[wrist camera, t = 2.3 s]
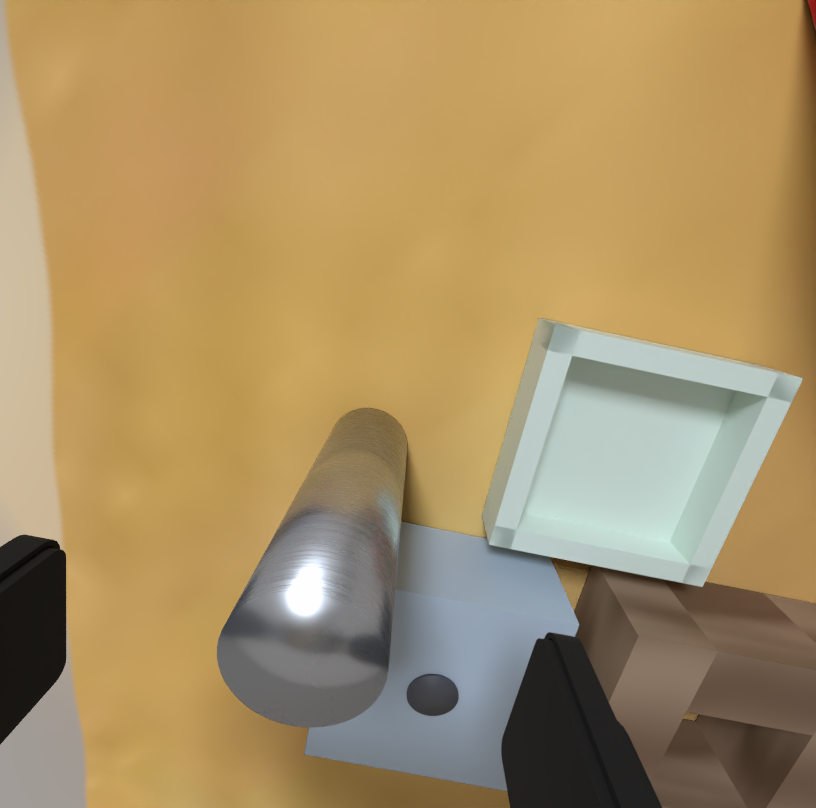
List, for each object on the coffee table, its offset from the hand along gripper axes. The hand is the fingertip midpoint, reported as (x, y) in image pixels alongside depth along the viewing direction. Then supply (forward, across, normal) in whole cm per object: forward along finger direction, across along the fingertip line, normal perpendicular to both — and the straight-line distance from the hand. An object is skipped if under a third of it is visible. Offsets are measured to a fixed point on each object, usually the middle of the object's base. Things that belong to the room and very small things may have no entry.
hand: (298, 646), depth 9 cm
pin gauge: (+9, 0, -1) cm, 9 cm away
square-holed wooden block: (+9, -15, +7) cm, 19 cm away
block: (+9, -4, +6) cm, 12 cm away
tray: (+9, -9, -3) cm, 13 cm away
